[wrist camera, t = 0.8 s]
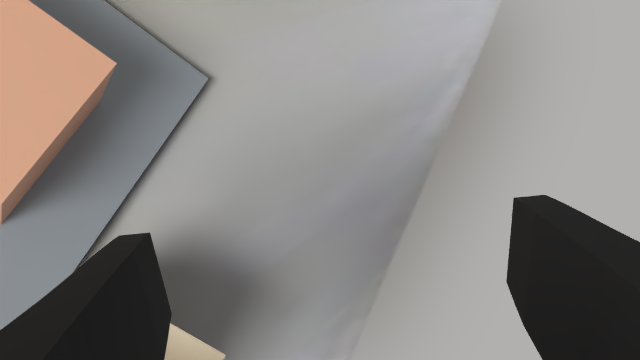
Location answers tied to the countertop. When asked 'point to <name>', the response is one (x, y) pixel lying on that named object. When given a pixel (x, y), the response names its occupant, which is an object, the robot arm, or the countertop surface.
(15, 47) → the base block
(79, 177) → the baseplate
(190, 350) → the birch block
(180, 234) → the countertop surface
